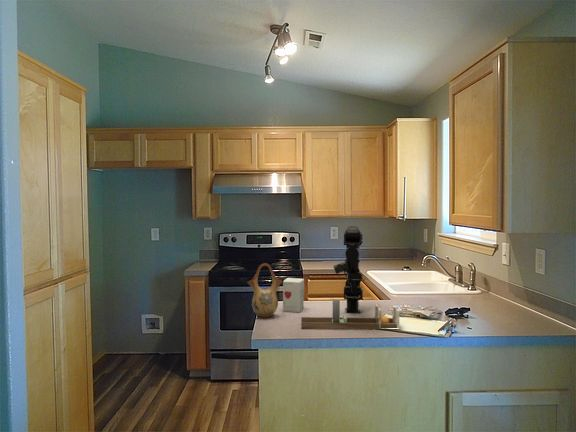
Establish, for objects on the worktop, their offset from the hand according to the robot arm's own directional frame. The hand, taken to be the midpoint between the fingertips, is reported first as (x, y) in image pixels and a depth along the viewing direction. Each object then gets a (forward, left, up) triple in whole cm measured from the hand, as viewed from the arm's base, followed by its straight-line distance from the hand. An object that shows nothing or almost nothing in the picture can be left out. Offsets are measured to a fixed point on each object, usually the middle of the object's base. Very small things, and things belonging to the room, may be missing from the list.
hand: (352, 291), depth 174 cm
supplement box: (-16, -27, -13) cm, 34 cm away
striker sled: (+9, -7, -13) cm, 17 cm away
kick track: (+9, -3, -13) cm, 16 cm away
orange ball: (+9, +12, -11) cm, 19 cm away
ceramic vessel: (-4, -40, -13) cm, 42 cm away
